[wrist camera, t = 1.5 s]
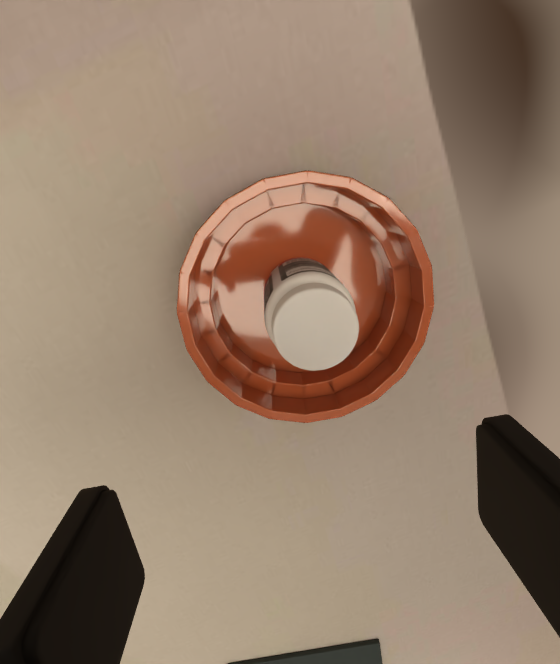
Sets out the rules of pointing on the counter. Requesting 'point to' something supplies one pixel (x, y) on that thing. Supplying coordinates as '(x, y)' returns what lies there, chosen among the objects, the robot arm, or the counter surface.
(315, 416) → the bowl
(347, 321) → the pill bottle
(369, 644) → the mat
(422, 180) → the counter surface
